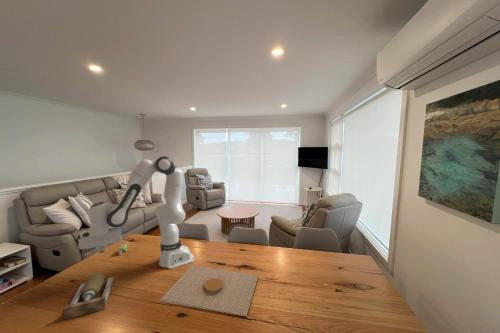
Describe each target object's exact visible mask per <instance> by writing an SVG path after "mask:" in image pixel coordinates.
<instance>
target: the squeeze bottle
mask: <svg viewBox="0 0 500 333" xmlns="http://www.w3.org/2000/svg"><path fill="white" fill-rule="evenodd" d="M85 283H86V285H85V288H84V290H83V293H82V301H83V302H84V301H88V300H92V299H95V298H96V296H98V294H99V293H100V290H101V289H102V287H103V285H104V284H105V276H104V274H103V273H102V272H96V273H94V274H92V275H91V276H90V277H89V278H88V279H87V280H86V282H85Z"/></svg>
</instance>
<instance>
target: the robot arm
mask: <svg viewBox="0 0 500 333" xmlns="http://www.w3.org/2000/svg"><path fill="white" fill-rule="evenodd" d="M155 173H160V174H164V175H165V177H166V179H165V184H164V191H163V192H164V193H163V198H164V200H165V203H161V204H158V205H156V207H155V209H154V214H155V217H156V219H157V222H158V225H159V229H160V238H161V239H160V240H161V241H160V257H159V258H160V259H159V262H158V265H159V267H162V268H167V269H169V270H173V269H177V268H178V267H182V266H184V265H187V264H191V263H193V262H194V260H195V256H194V254H193V253H192V252H191V250H190V248H189V247H188V246H186V245H184V243H183V240H182V239H181V238H179V237H180V234H179V233H180V231H179V227H178V225H180V224H182V223H183V222H184V220H185V219H186V211H185V210H184V208H183V203H182V202H183V200H182V193H183V186H184V172H183V170H182V169H180V168H176V167H175V164H174V160H173V159H171V157H169V156H166V155H162V156H159V157H158V158H157V159H156V160H154V161H153V160H151V159H147V158H143V159H142V160H141V161H139V163H138V164H137V165H136V166H135V167H134V169H133V170H132V171H131V174H130V175H129V176H128V179H127V182H126V183H127V184H126V190H125V193H124V196H123V197H122V198H121V200H120V201H119V203H118V204H112V203H109V202H107V201H99V202H95V203H93V204H91V205H90V207H89V209H88V217H89V218H88V219H89V222H90V225H89V228H86V229H84V230H83V231H81V232H80V234H79V237H80V238H79V240H78V249H79V250H81V251H82V250H86V249H91V248H95V249H96V251H98V254H103V253H106V248H107V247H108V245H113V244H118V243H121V242H122V239H123V237H122V228H120V227H123V226H124V225H126V223H127V221H128V220H129V213H130V209H131V208H132V207H133V205H134V203H135V201H136V200H137V198H138V196H139V195H140V194H141V192H142V190H144V188H145V187H146V186H147V184H148V183H149V181H150V180H151V178H152V177H153V175H154V174H155ZM101 247H103V248H101Z"/></svg>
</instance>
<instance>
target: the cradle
mask: <svg viewBox="0 0 500 333" xmlns="http://www.w3.org/2000/svg"><path fill="white" fill-rule="evenodd" d="M114 282H115V277H114V276H113V277H109V278H108V279H107V282H106V285H105V288H104V290H103V293H102V295H101V297H97V298H96V297H95V298H93V299H92V300H88V301H84V300H83V301H82V299H83V296H82V293H83V290H84V288H85V285H86V282H84V283H81V284H80V286H79V287H78V289H77V291H76V292H75V294H74V296H73V298H72V299H71V302H70V303H69V304H67V305H65V306H64V307H63V317H64V320H68V319H72V318H76V317H79V316H83V315H87V314H91V313H95V312H99V311H102V310H106V307H107V305H108V304H107V303H108V302H109V298H110V294H111V292H112V289H113V287H114Z"/></svg>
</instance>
